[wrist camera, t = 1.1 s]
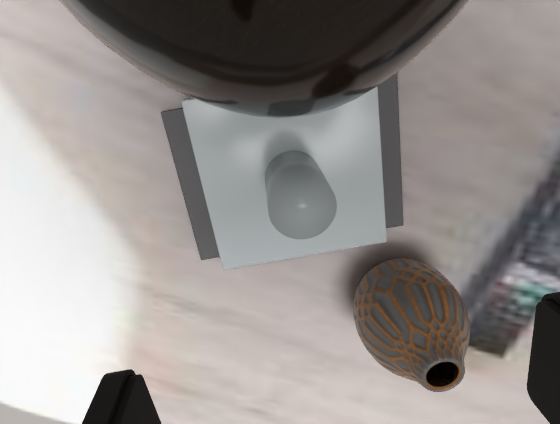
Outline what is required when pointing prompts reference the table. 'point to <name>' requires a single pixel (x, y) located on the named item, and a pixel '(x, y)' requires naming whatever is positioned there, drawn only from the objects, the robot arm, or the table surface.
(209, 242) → the mat
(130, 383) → the robot arm
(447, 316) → the vase
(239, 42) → the dark brown round pot
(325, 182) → the lid
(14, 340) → the table surface
